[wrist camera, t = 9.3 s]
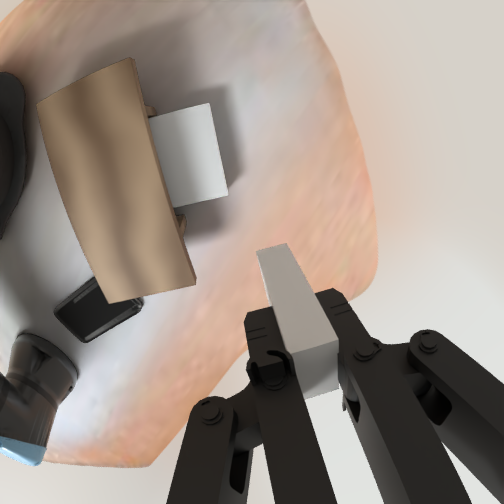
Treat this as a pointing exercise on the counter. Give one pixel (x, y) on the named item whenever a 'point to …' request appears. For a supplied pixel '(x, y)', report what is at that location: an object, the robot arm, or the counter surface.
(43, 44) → the counter surface
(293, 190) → the counter surface
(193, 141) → the plastic case
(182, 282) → the low shelf
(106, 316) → the phone
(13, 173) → the casserole
